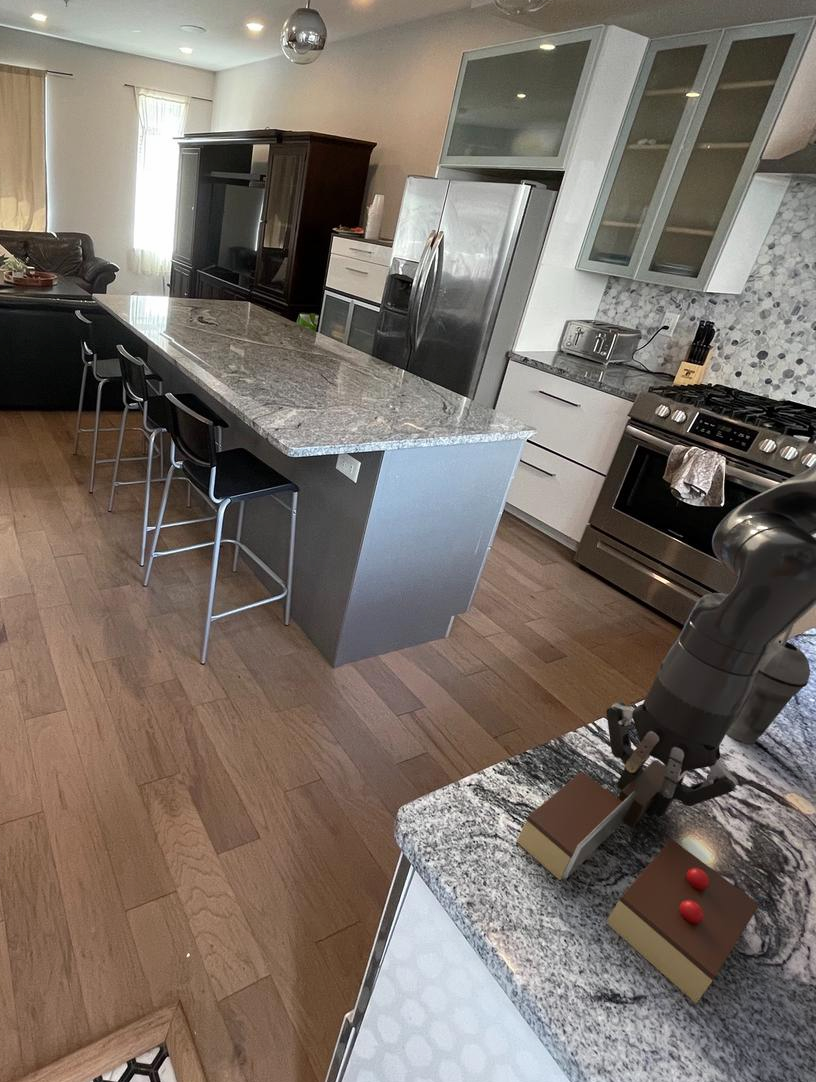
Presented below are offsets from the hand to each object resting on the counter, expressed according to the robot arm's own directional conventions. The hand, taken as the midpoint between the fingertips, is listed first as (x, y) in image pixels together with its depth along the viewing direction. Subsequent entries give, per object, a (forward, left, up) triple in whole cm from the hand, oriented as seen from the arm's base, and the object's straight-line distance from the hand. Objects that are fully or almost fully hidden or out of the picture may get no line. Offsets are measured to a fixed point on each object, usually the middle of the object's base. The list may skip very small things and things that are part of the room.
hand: (638, 802), depth 74 cm
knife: (+7, 0, 0) cm, 7 cm away
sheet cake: (+11, +9, -1) cm, 14 cm away
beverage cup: (-30, +2, -2) cm, 30 cm away
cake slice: (+11, -3, -1) cm, 11 cm away
